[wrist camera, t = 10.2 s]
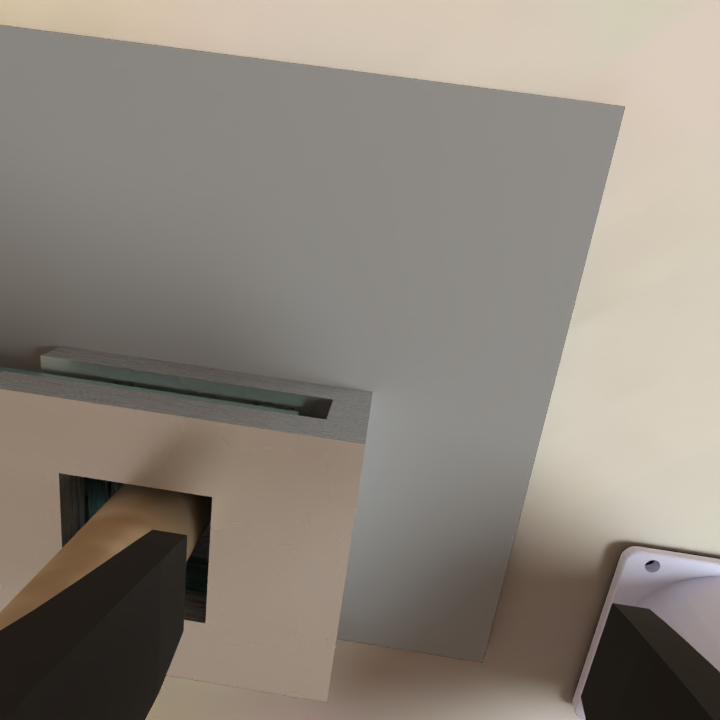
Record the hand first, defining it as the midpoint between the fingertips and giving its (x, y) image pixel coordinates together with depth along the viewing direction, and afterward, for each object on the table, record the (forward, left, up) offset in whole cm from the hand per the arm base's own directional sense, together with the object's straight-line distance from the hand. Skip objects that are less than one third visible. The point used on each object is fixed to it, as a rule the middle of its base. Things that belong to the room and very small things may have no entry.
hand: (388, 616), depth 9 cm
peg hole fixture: (+8, +4, -9) cm, 13 cm away
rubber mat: (+6, 0, -10) cm, 12 cm away
